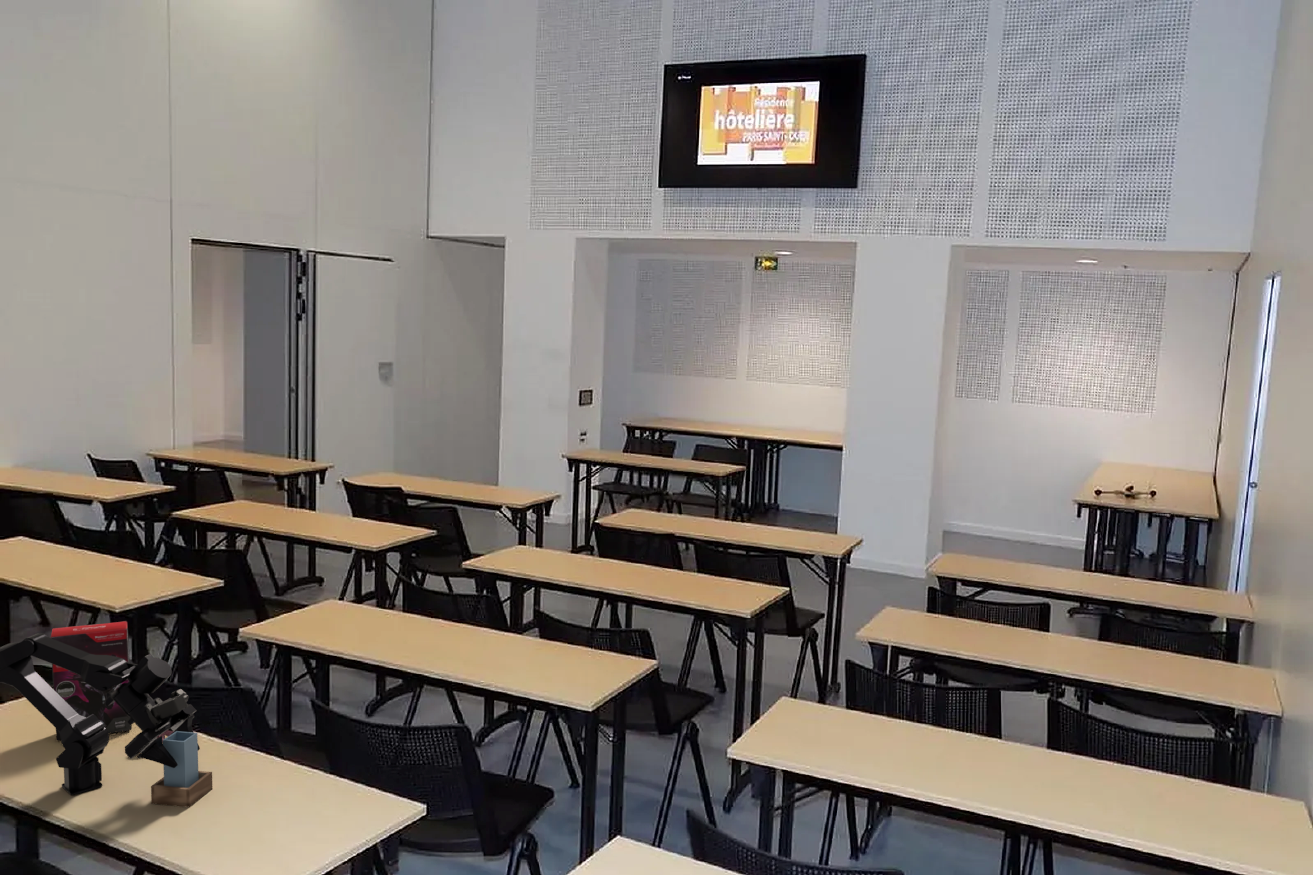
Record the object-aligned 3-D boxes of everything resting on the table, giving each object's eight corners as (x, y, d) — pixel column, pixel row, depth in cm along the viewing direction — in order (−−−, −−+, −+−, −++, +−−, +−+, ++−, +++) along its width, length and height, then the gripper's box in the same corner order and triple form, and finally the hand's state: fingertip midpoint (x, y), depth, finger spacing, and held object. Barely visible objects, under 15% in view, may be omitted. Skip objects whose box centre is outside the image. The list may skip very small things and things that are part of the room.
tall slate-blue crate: (164, 797, 227) (162, 740, 226) (177, 786, 232) (176, 731, 231) (185, 799, 227) (184, 742, 225) (198, 788, 232) (197, 732, 230)
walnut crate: (151, 803, 226) (150, 786, 225) (175, 785, 235) (175, 768, 234) (189, 807, 225) (189, 789, 224) (212, 789, 234) (212, 772, 233)
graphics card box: (54, 743, 255) (49, 635, 252) (55, 732, 261) (51, 627, 258) (132, 732, 263) (128, 627, 260) (131, 722, 269) (128, 619, 266)
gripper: (136, 698, 218) (186, 753, 218) (187, 669, 236) (233, 719, 236) (102, 731, 220) (152, 785, 220) (156, 699, 238) (202, 749, 238)
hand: (187, 758), depth 229 cm, fingers open, 8 cm apart
